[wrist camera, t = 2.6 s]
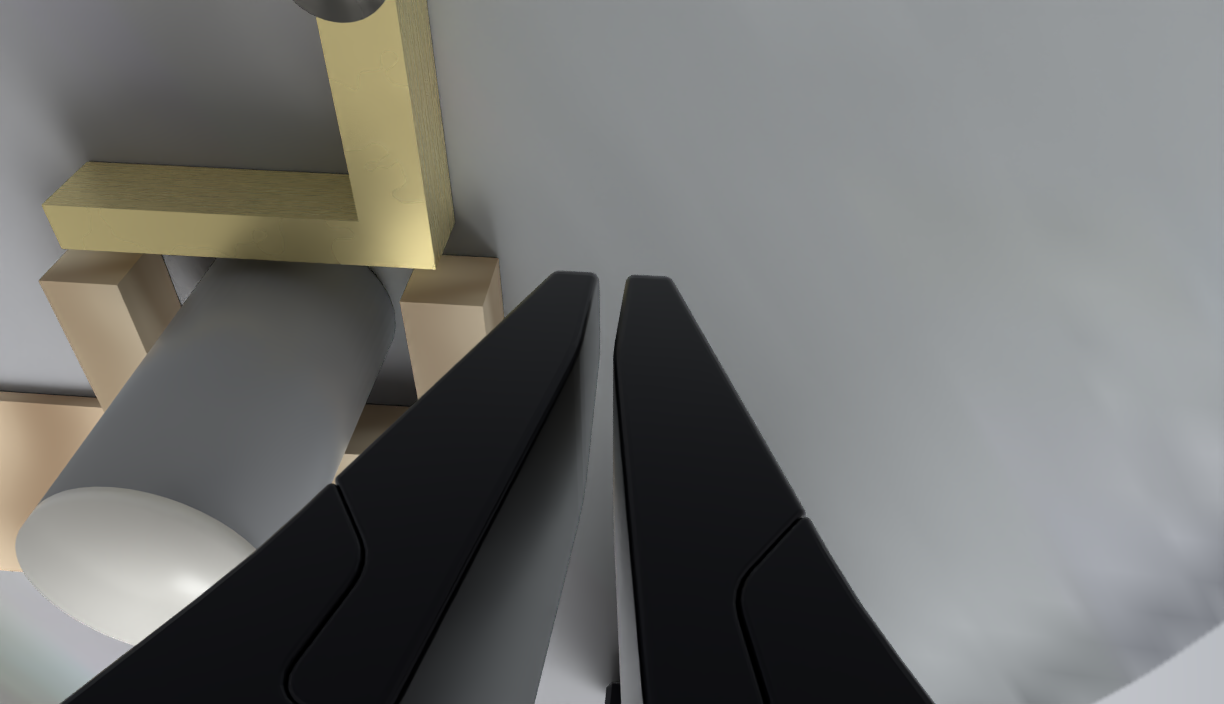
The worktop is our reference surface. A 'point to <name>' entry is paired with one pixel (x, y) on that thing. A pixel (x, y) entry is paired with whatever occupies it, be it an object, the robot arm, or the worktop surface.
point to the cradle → (147, 302)
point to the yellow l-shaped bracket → (299, 201)
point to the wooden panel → (35, 454)
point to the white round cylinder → (210, 442)
